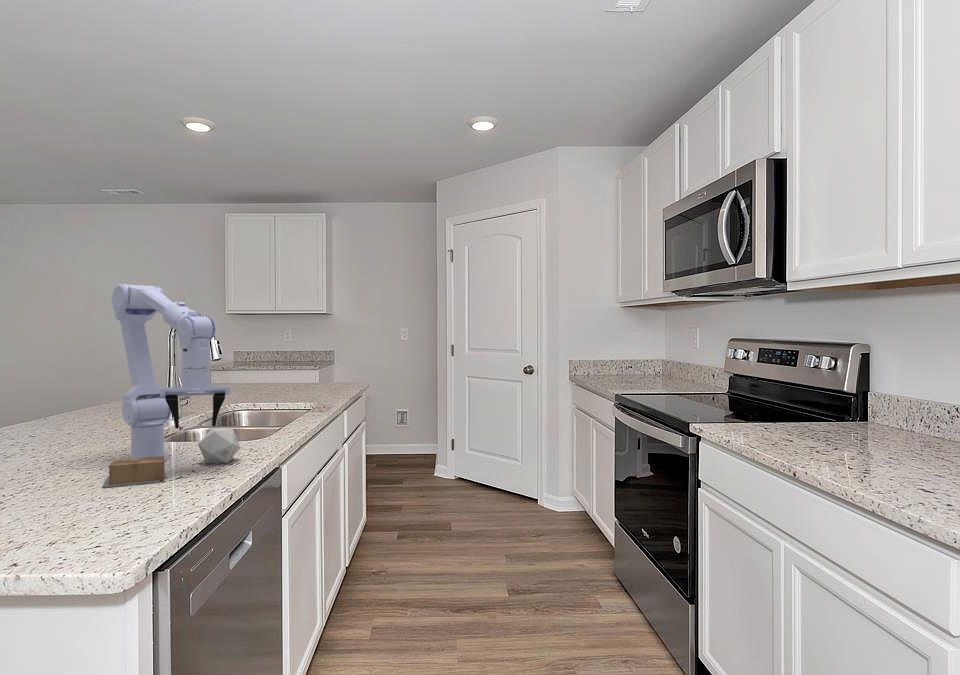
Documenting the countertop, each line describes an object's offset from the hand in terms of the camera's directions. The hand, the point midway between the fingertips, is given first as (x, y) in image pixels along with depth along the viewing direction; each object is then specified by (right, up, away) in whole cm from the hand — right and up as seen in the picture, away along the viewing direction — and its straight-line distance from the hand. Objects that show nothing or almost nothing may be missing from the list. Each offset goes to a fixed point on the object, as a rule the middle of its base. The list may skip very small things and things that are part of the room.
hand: (195, 426), depth 137 cm
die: (+1, -10, +9) cm, 14 cm away
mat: (-9, -10, -9) cm, 16 cm away
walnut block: (-4, -8, -7) cm, 11 cm away
